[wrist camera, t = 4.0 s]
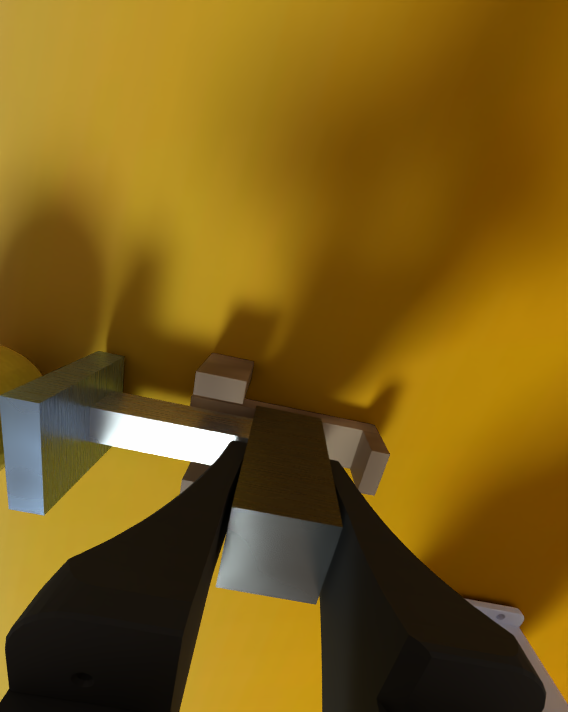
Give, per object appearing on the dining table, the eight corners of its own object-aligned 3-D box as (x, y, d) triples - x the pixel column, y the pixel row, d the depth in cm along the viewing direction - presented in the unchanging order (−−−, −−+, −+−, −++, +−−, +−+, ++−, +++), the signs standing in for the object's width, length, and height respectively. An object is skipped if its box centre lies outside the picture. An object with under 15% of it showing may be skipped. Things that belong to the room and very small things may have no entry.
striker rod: (323, 396, 14) (350, 506, 8) (302, 472, 15) (310, 620, 9) (98, 350, 13) (-71, 427, 7) (96, 433, 15) (-49, 558, 8)
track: (387, 389, 14) (406, 414, 12) (351, 491, 16) (362, 531, 14) (201, 350, 14) (183, 368, 11) (187, 460, 16) (168, 495, 13)
